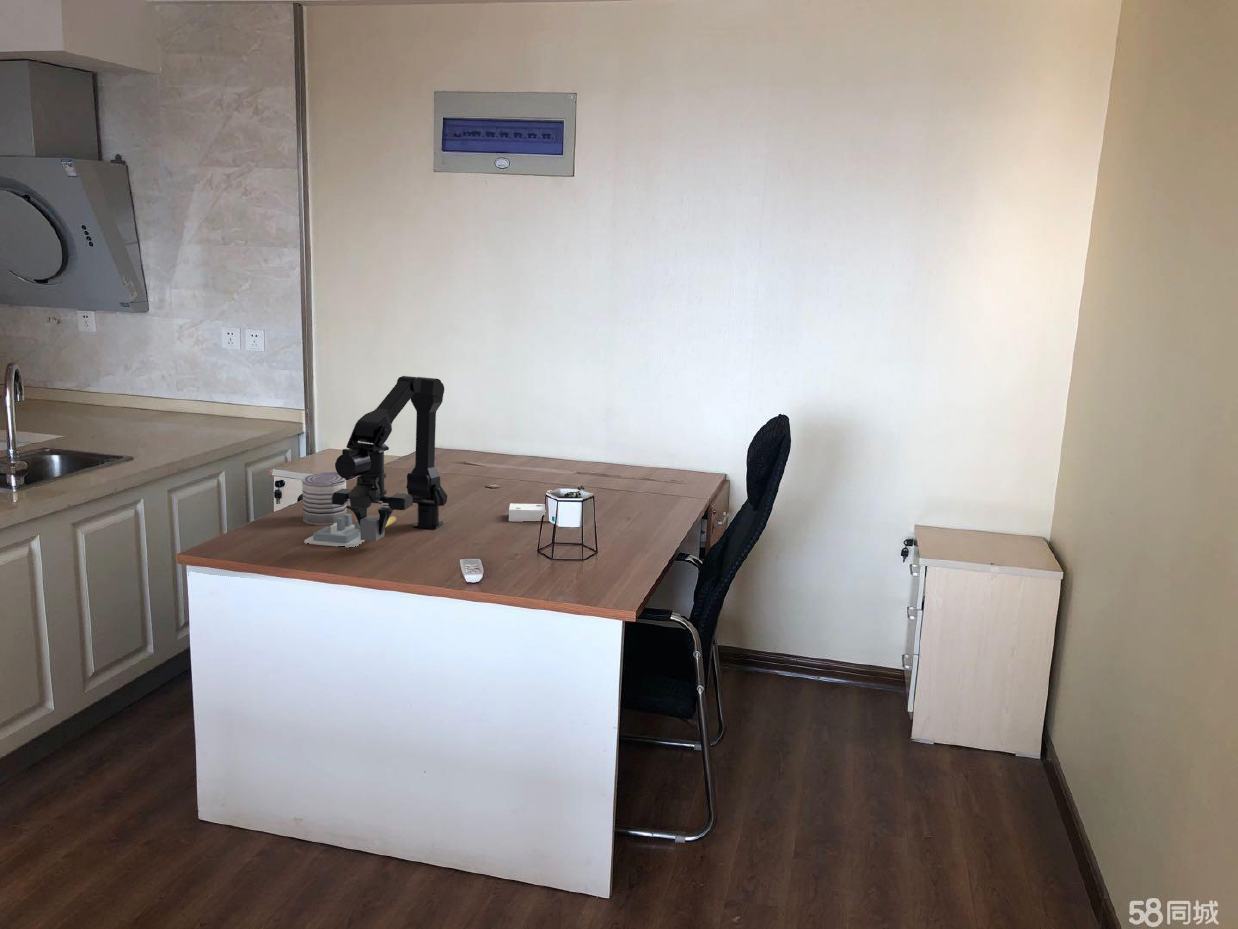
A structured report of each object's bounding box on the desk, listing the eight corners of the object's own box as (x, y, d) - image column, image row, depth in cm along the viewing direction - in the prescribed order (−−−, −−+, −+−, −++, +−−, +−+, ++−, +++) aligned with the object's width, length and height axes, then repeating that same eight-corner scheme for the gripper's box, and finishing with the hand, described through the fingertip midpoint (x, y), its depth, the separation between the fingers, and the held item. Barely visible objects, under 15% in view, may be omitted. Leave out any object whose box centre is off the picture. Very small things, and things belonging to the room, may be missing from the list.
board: (335, 526, 258) (335, 512, 258) (382, 530, 256) (382, 516, 256) (304, 543, 242) (304, 528, 241) (353, 548, 240) (353, 533, 239)
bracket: (555, 516, 279) (556, 490, 277) (556, 523, 272) (556, 496, 270) (509, 515, 278) (510, 489, 276) (508, 522, 271) (509, 495, 269)
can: (356, 519, 266) (355, 476, 263) (322, 527, 256) (321, 483, 254) (327, 512, 272) (326, 470, 269) (293, 520, 263) (292, 476, 260)
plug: (387, 523, 253) (386, 504, 252) (401, 524, 252) (401, 506, 251) (360, 539, 237) (360, 519, 236) (376, 541, 237) (375, 521, 236)
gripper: (319, 474, 230) (321, 539, 233) (395, 481, 227) (395, 546, 230) (341, 465, 241) (342, 527, 244) (413, 471, 238) (413, 533, 241)
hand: (372, 533), depth 239 cm, fingers closed on plug, 4 cm apart
